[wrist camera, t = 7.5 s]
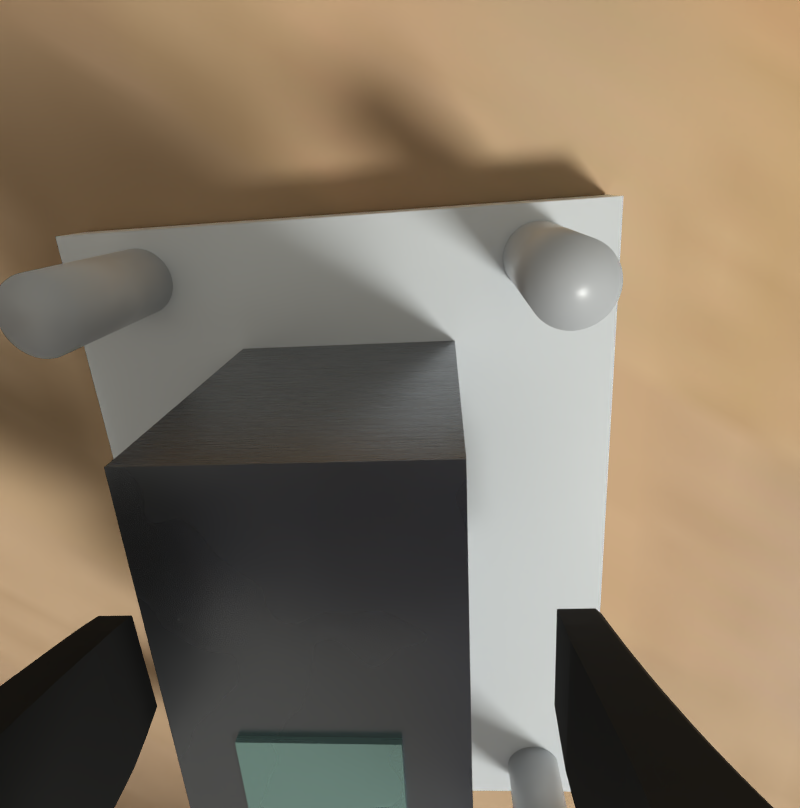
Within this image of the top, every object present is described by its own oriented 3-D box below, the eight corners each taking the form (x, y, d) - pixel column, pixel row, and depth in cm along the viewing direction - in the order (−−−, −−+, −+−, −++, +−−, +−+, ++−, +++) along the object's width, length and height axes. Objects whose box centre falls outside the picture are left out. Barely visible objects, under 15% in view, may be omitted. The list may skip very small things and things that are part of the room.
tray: (581, 755, 16) (625, 934, 12) (213, 753, 17) (147, 921, 13) (607, 194, 11) (695, 201, 7) (85, 231, 12) (-81, 256, 8)
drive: (463, 710, 14) (475, 980, 9) (297, 708, 14) (227, 969, 10) (454, 340, 11) (466, 463, 6) (242, 349, 11) (99, 471, 7)
